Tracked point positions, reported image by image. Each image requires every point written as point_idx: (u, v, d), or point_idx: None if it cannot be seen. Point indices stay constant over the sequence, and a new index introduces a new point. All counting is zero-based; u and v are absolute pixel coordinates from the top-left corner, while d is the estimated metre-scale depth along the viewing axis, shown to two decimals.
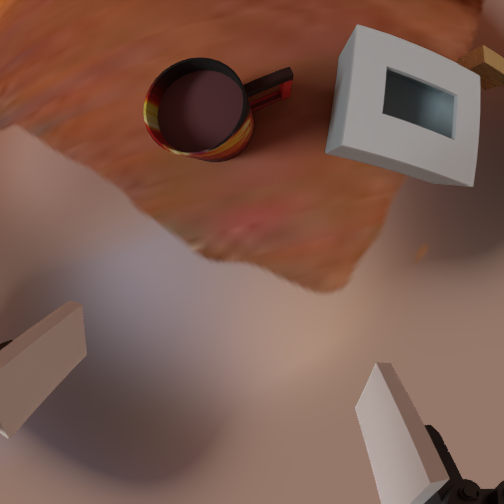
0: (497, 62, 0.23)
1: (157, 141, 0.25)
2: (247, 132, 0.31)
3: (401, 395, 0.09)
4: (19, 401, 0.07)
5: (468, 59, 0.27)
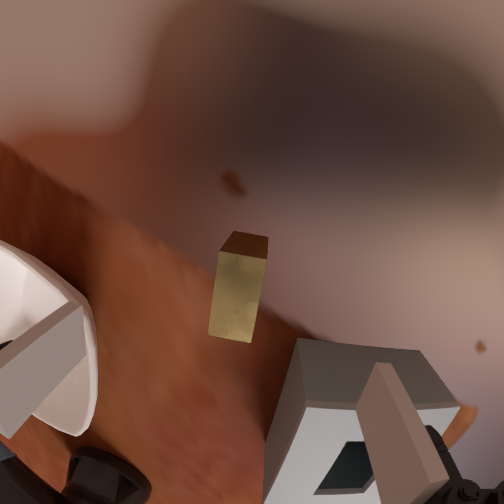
0: (238, 306, 0.20)
1: None
2: None
3: (401, 395, 0.09)
4: (19, 401, 0.07)
5: None
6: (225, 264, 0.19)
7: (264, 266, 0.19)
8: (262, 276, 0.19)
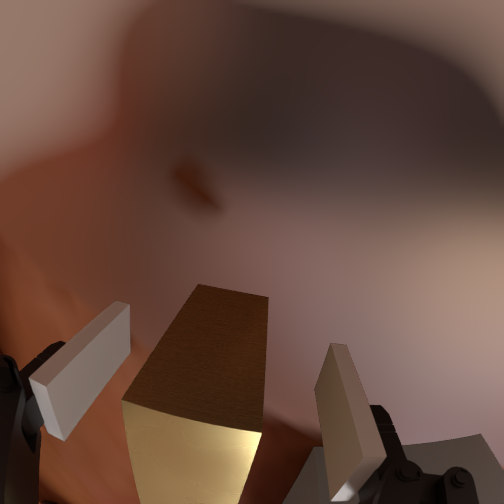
0: (194, 494, 0.06)
1: None
2: None
3: (350, 373, 0.10)
4: (75, 402, 0.08)
5: None
6: (144, 429, 0.06)
7: (253, 445, 0.05)
8: (248, 461, 0.06)
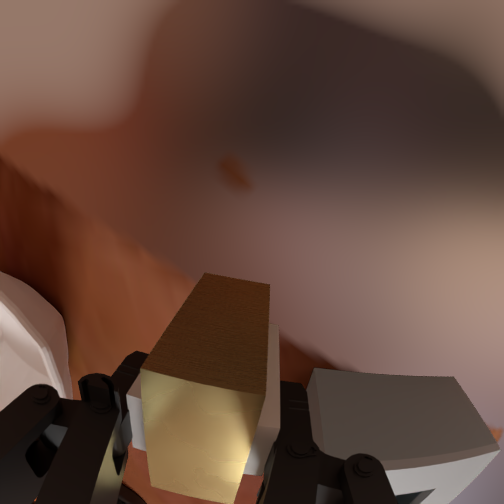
0: (202, 464, 0.07)
1: None
2: None
3: (270, 349, 0.11)
4: None
5: None
6: (160, 396, 0.07)
7: (258, 408, 0.06)
8: (253, 425, 0.07)
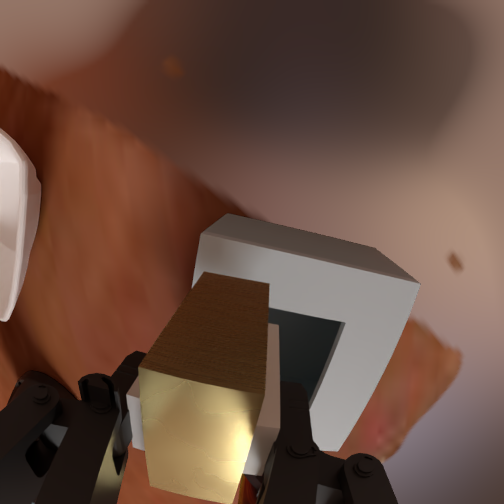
0: (201, 463, 0.07)
1: None
2: None
3: (271, 349, 0.11)
4: None
5: None
6: (158, 395, 0.07)
7: (257, 407, 0.06)
8: (252, 425, 0.07)
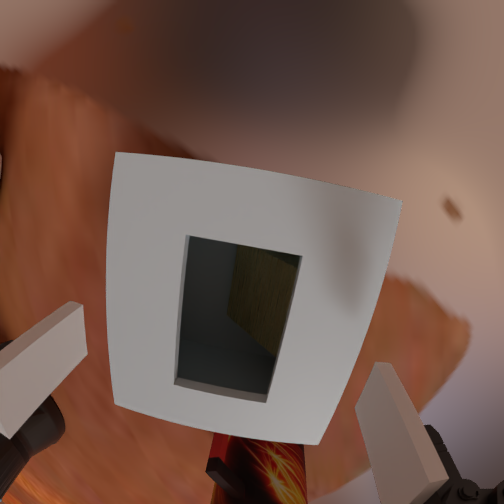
0: None
1: None
2: (281, 464, 0.23)
3: (400, 395, 0.09)
4: (20, 401, 0.07)
5: None
6: None
7: None
8: None
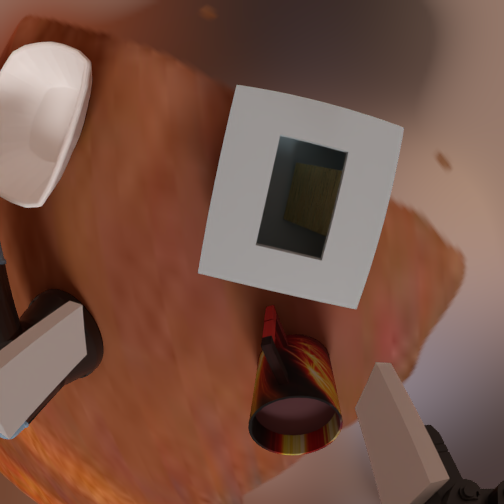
0: None
1: (321, 447, 0.27)
2: (316, 361, 0.32)
3: (401, 395, 0.09)
4: (19, 401, 0.07)
5: None
6: None
7: None
8: None
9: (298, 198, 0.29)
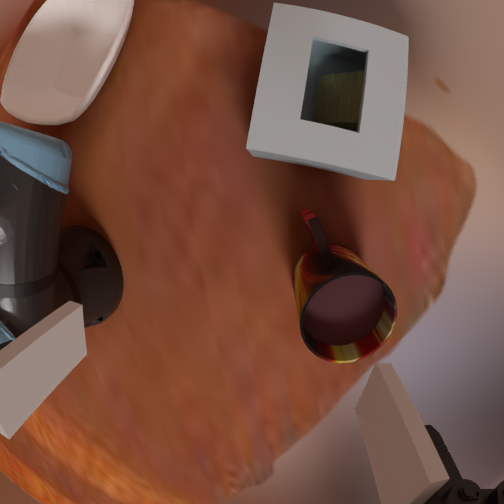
0: None
1: (376, 349, 0.27)
2: (357, 258, 0.32)
3: (401, 395, 0.09)
4: (19, 401, 0.07)
5: (342, 125, 0.30)
6: None
7: None
8: None
9: (326, 101, 0.30)
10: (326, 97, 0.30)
